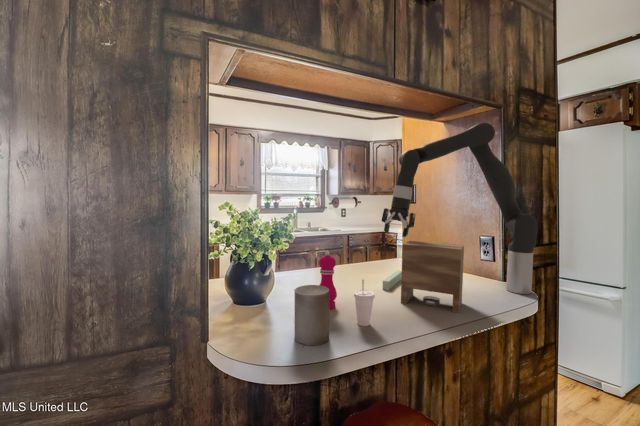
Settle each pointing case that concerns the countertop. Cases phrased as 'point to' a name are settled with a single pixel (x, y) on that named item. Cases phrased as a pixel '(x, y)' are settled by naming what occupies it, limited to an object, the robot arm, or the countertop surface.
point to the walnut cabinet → (432, 270)
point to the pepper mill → (328, 276)
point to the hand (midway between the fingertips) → (395, 234)
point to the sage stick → (392, 280)
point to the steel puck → (431, 300)
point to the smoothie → (363, 305)
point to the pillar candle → (311, 314)
